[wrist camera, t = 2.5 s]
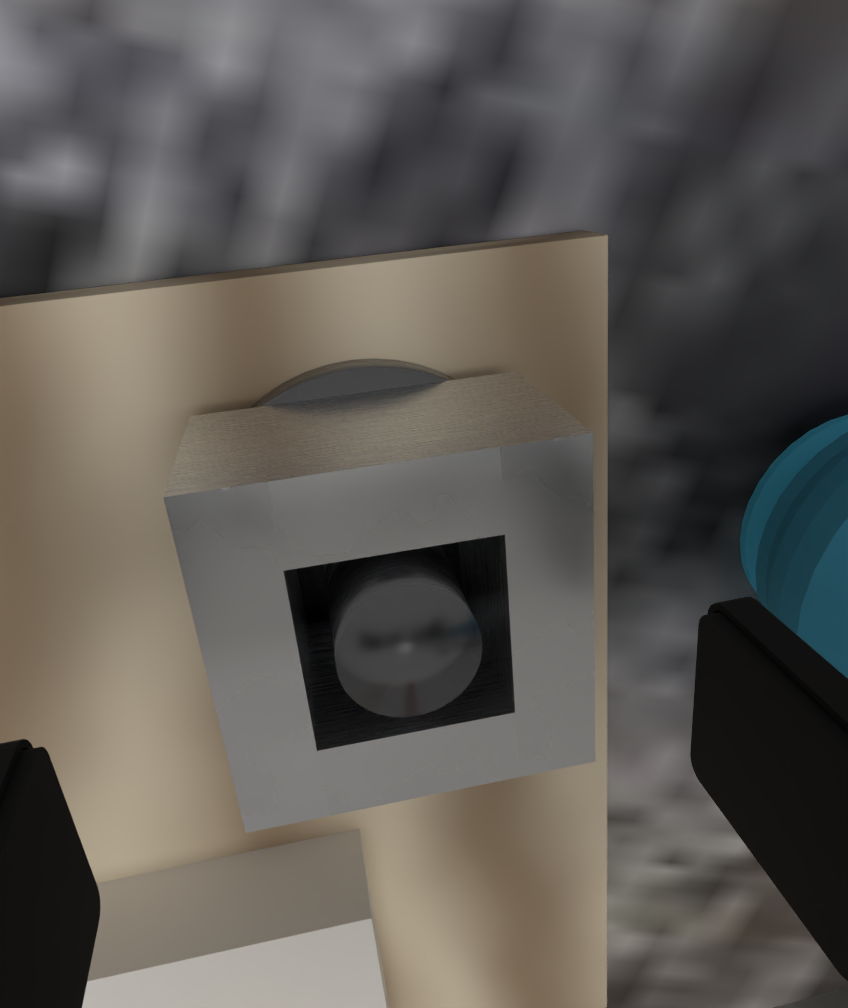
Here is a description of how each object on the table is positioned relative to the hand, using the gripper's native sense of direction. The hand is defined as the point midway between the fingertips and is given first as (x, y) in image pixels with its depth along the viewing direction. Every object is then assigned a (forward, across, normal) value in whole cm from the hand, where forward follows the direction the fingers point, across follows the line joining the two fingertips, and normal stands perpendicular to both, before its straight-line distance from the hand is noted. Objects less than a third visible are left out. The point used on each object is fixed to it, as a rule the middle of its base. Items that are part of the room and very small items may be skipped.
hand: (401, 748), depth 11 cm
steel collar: (+7, -1, 0) cm, 7 cm away
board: (+10, +2, +7) cm, 13 cm away
